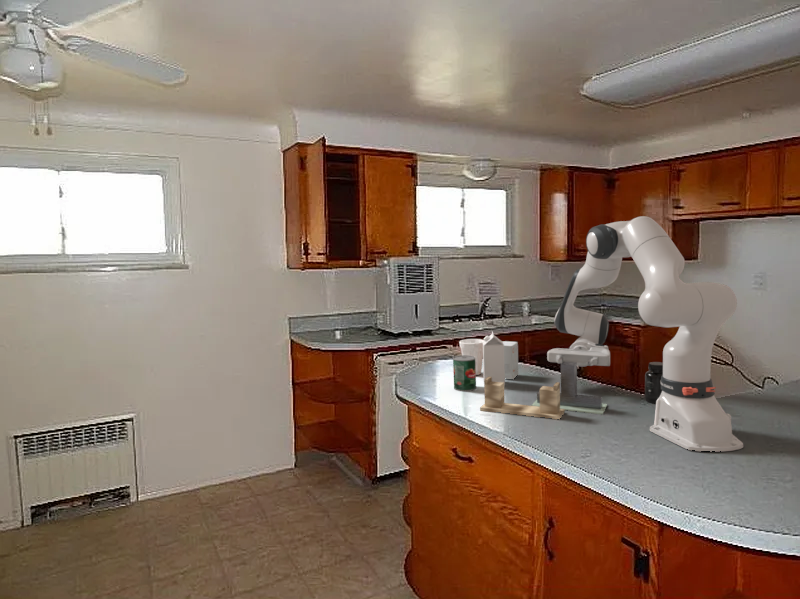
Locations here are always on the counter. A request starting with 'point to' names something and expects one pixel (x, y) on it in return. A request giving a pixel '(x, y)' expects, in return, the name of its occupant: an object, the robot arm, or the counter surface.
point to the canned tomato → (464, 373)
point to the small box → (510, 359)
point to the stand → (546, 409)
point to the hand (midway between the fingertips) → (574, 362)
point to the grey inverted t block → (574, 389)
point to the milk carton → (493, 358)
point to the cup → (473, 351)
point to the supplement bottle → (653, 382)
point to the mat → (579, 408)
